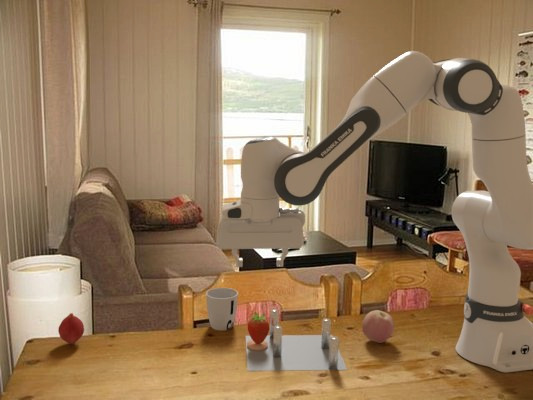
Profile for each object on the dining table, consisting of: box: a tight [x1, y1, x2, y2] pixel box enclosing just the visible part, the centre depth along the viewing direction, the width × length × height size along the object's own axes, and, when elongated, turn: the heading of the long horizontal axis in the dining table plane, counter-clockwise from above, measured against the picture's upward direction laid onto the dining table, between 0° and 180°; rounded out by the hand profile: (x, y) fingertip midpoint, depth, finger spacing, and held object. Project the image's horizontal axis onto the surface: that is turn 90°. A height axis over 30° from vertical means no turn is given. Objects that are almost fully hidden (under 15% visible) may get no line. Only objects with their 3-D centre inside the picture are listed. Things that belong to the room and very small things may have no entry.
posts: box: [269, 308, 340, 371], centre depth 130 cm, size 14×18×7 cm
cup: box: [205, 287, 239, 332], centre depth 144 cm, size 8×8×10 cm
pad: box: [247, 340, 268, 351], centre depth 133 cm, size 5×5×1 cm
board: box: [245, 334, 348, 372], centre depth 131 cm, size 22×18×1 cm
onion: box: [58, 312, 85, 345], centre depth 134 cm, size 6×6×8 cm
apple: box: [361, 309, 395, 344], centre depth 139 cm, size 8×8×8 cm
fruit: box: [247, 311, 270, 344], centre depth 132 cm, size 5×5×8 cm
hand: (259, 266), depth 130 cm, fingers open, 8 cm apart
